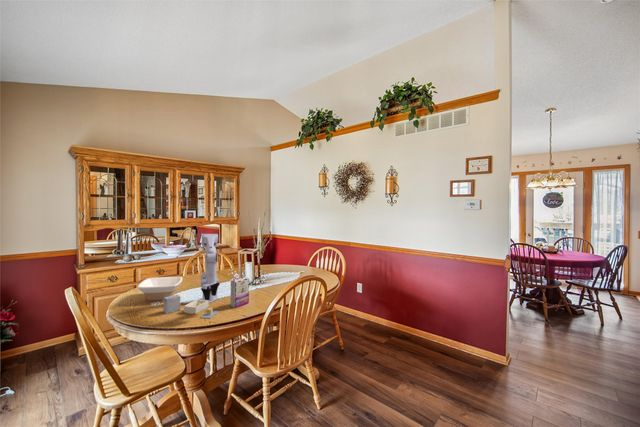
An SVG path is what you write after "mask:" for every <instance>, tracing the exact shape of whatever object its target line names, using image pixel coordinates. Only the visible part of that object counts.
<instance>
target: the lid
mask: <svg viewBox="0 0 640 427" xmlns="http://www.w3.org/2000/svg"><path fill="white" fill-rule="evenodd" d="M219 312H220V311H219V310H214V308H213V307H208V308H206V312H205V313H203V314H202V315H201V316H200V317H199V318H200V319H207V320H209V319H213V317H215V316H216V315H217V314H218V313H219Z"/></svg>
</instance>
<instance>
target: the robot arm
mask: <svg viewBox="0 0 640 427" xmlns="http://www.w3.org/2000/svg"><path fill="white" fill-rule="evenodd" d="M218 243H219V234H218V233H202V234H201V247H204V249H205V255H204V263H205V272H203V273H202V274H201V275H200V287H201V288H200V290H201V292H202V299H201V300H208V301H209V304H210V303H213V302H214V301H216V300H218V299H219V297H218V289H219V286H220V284H221V283H220V282H219V278H218V275H217V264H218V256H219V255H218V253H217V248H216V247H217V245H218Z"/></svg>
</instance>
